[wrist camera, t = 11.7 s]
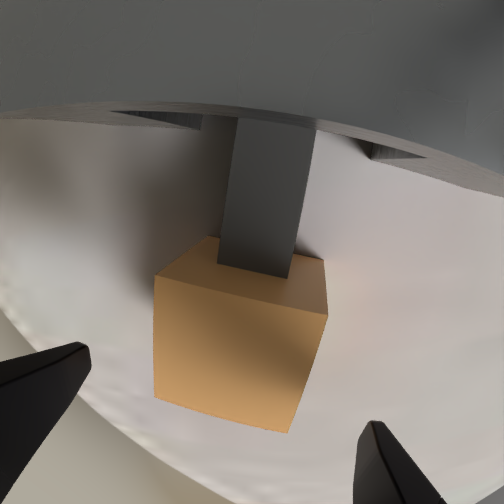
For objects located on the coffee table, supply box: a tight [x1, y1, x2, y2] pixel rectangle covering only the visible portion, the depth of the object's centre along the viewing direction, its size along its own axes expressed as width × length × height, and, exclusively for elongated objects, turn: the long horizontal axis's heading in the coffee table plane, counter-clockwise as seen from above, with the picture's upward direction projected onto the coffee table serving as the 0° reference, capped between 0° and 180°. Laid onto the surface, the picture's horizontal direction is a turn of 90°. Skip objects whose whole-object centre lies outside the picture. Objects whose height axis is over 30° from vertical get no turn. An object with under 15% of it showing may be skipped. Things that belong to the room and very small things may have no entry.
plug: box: [153, 118, 328, 433], centre depth 9 cm, size 24×5×5 cm, turn 171°
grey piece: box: [0, 0, 504, 197], centre depth 7 cm, size 5×16×8 cm, turn 81°
